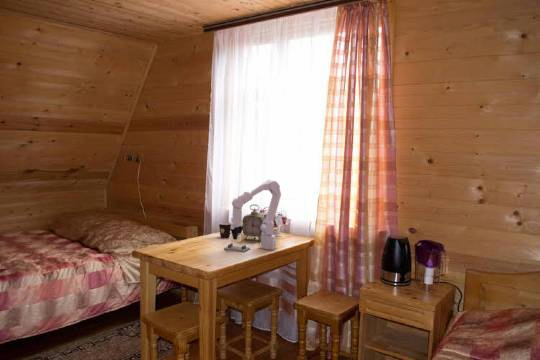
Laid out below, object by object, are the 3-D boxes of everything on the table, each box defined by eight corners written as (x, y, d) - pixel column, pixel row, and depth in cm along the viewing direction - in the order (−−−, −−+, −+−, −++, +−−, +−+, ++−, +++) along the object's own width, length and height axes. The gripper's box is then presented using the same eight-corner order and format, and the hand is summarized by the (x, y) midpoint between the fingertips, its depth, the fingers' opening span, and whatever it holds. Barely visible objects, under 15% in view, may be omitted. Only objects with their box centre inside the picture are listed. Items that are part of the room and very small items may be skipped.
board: (250, 249, 288) (250, 244, 288) (244, 252, 279) (244, 247, 279) (230, 246, 293) (230, 242, 292) (223, 249, 284) (224, 245, 284)
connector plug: (241, 240, 287) (241, 232, 286) (238, 242, 283) (238, 234, 283) (234, 239, 289) (234, 232, 288) (231, 241, 285) (231, 233, 284)
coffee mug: (216, 236, 321) (216, 223, 320) (226, 235, 326) (227, 221, 325) (225, 240, 311) (225, 225, 310) (235, 238, 317) (236, 224, 316)
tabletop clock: (241, 240, 312) (242, 204, 310) (246, 237, 321) (247, 202, 318) (261, 242, 308) (262, 206, 306) (265, 239, 317) (266, 204, 314)
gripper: (236, 215, 292) (235, 235, 294) (226, 218, 279) (225, 240, 280) (246, 216, 290) (245, 236, 291) (236, 219, 276) (236, 241, 278)
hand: (236, 238), depth 286 cm, fingers closed on connector plug, 4 cm apart
